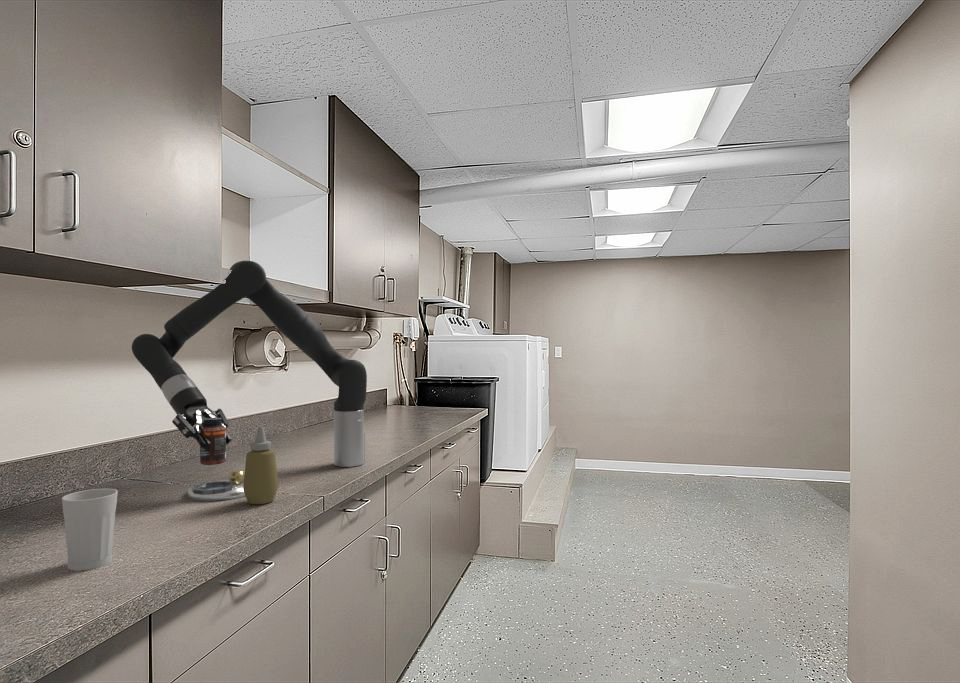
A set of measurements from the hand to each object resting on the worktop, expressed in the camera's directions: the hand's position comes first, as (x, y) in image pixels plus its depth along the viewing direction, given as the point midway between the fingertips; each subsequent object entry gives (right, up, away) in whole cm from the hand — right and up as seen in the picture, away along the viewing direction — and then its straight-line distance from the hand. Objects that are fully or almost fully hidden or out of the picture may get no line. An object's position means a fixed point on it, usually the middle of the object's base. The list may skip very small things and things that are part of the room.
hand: (218, 444), depth 140 cm
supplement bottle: (-2, -5, +1) cm, 5 cm away
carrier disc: (0, -13, +3) cm, 13 cm away
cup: (-2, -13, -43) cm, 45 cm away
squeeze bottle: (+13, -13, -5) cm, 19 cm away
